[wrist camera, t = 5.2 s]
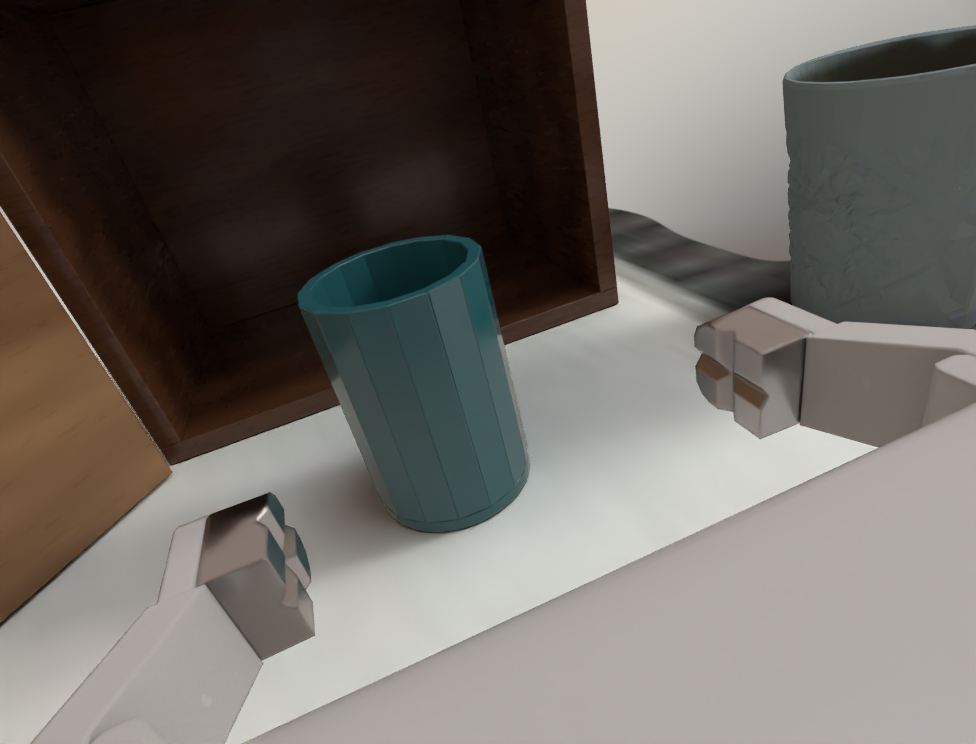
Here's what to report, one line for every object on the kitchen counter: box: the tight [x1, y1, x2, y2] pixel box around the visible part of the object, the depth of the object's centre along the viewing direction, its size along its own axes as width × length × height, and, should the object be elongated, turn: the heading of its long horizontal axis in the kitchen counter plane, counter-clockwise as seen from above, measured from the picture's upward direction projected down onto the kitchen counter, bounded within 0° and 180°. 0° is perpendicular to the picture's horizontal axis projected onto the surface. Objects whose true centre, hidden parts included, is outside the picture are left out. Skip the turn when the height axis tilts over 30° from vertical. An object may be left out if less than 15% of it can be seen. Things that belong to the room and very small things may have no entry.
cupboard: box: [0, 0, 618, 465], centre depth 35 cm, size 18×28×24 cm, turn 110°
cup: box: [297, 235, 530, 532], centre depth 23 cm, size 7×7×10 cm
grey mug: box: [783, 26, 976, 329], centre depth 27 cm, size 10×10×12 cm
